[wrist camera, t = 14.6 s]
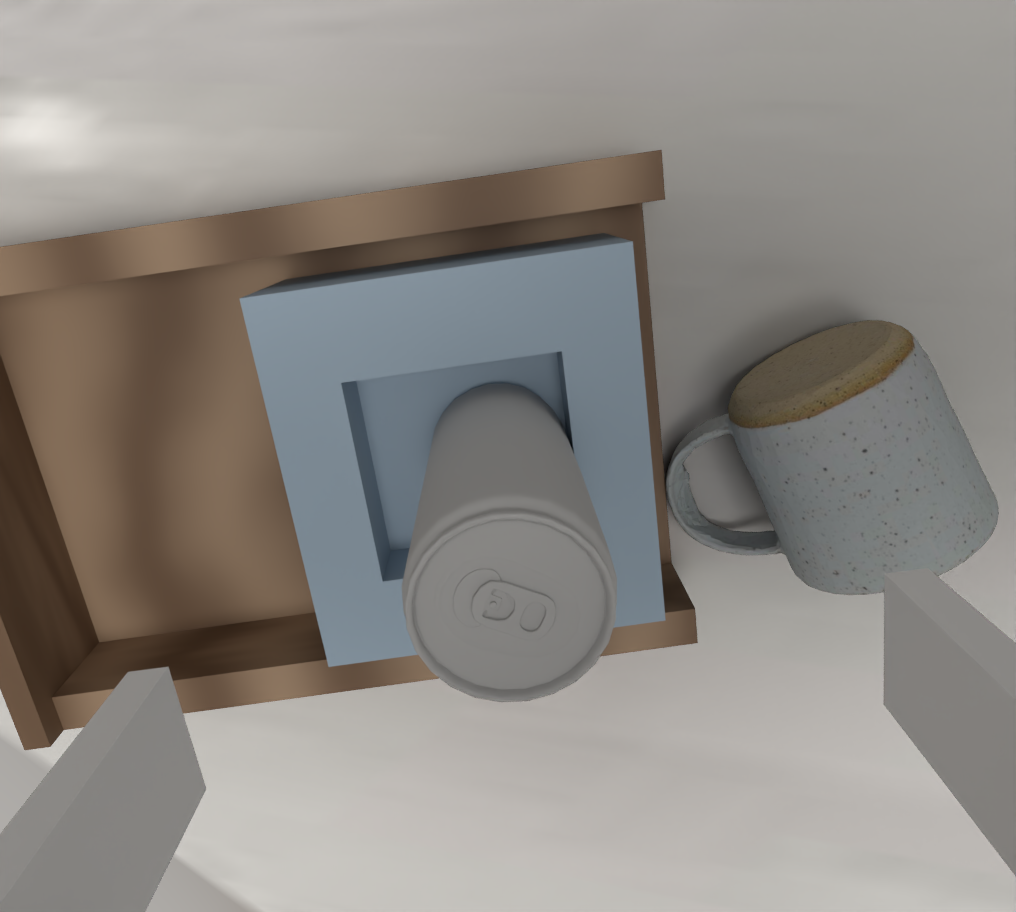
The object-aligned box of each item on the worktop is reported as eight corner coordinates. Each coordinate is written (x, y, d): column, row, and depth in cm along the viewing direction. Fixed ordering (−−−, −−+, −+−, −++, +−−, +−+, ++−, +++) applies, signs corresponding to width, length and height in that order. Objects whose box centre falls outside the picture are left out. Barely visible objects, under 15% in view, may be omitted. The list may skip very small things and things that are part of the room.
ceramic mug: (857, 294, 32) (963, 325, 24) (931, 459, 34) (1049, 533, 27) (623, 426, 33) (659, 491, 26) (710, 575, 36) (764, 674, 28)
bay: (633, 157, 30) (668, 148, 24) (668, 583, 36) (704, 656, 30) (-44, 256, 30) (-166, 270, 25) (97, 662, 36) (24, 750, 30)
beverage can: (458, 359, 27) (441, 475, 16) (587, 406, 28) (659, 550, 17) (414, 483, 29) (368, 671, 17) (538, 525, 29) (573, 734, 18)
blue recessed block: (603, 233, 30) (632, 241, 24) (634, 548, 34) (665, 620, 28) (286, 278, 30) (239, 298, 24) (354, 587, 34) (328, 666, 28)
